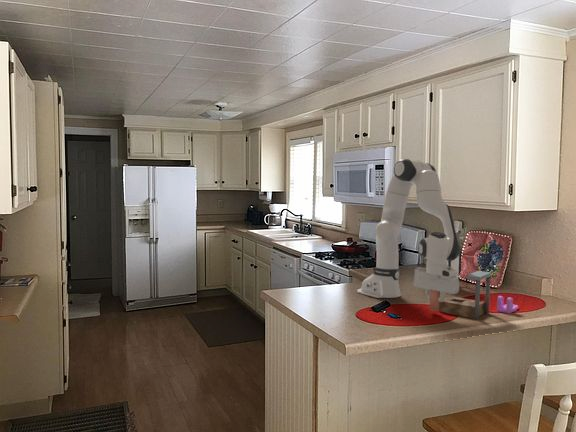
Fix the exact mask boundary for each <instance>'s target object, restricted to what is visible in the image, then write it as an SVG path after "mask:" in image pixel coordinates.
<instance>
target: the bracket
mask: <svg viewBox="0 0 576 432" xmlns="http://www.w3.org/2000/svg"><path fill="white" fill-rule="evenodd" d="M504 299H505V298H504V296H503V295H498V296H497V300H496V312H500V313H505V314H512V313H513V312H516V311H517V309H519V305H517V304H514V299H513V297H510V296H509V297H507V298H506V304H504Z"/></svg>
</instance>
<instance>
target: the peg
mask: <svg viewBox="0 0 576 432" xmlns="http://www.w3.org/2000/svg"><path fill="white" fill-rule="evenodd" d="M429 293H430V300H429V310H430V311H432V312H439V301H438V298H439V297H441V296H440V295H441V292H439V291H435V290H430V292H429Z"/></svg>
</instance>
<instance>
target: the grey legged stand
mask: <svg viewBox="0 0 576 432" xmlns="http://www.w3.org/2000/svg"><path fill="white" fill-rule="evenodd" d="M491 277H492V272H489V271H481V270H477V271H474V272H470V273H468V274H466V275H465V279H466V280H474V281H475V297H474V300H475V316H474V318H473V319H475V320H480V316H479V304H480V300H481V299H480V298H481V281H482V280H485V295H484V297H485V298H484V302H485V313H484V314H485V315H489V314H490V298H491V294H490V293H491Z"/></svg>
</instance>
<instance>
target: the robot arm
mask: <svg viewBox="0 0 576 432" xmlns="http://www.w3.org/2000/svg"><path fill="white" fill-rule="evenodd" d="M413 185H415V186H416V188H415V190H416V193H415V194H416V203H417V206H418V207H419V208H420V209H421V210H422V211H424V212H425V213H427V214H430V215H433V216H435V217H436V218H438V219H440V221H441V223H442V227H443V230H444V231H443V232H440V231H438V232H437V231H436V232H435V231H434V232H430V233H429V235H428V236H427V237H425V238H424V237H423V238H422V239H421V240H420V241H419V242H418V246H417V247H418V248H417V249H418V251H417V252H418V255H419V256H420V257H422V258H423V259H425V260H426V263H425V264H426V265H425V266H426V267H421V266H418V267H416V268H415V269H414V276H413V277H414V278H413V283H412V284H413V286H414V287H415V288H419V289H422V290H424V292H425V295H426V299H427V300H428V301H430V293H431V290H435V291H439V292H440V295H441V296H440V297H439V298H438V301H439V302H443V299H445V298H444V297H445V296H446V295H447V294H451V295H457V294H459V291H460V288H459V287H460V286H459V285H460V280H459V279H460V278H459V279H458V277H457V275H458V271H456V270H454V269H452V268H450V267H449V266H447V260H452V261H453V260H455V259H456V258H457V257H458V256H459V255H460V251H461V243H460V241H459V239H458V236H457V231H456V228H455V225H454V224H455V223H454V219H453V215H452V212H451V208H450V206H449V205H448V204H447V203H445V201H444V199H443V196H442V191H441V189H442V188H441V183H440V178H439V175H438V173H437V170H436V168H435V167H434V165H431V164H430V163H427V162H424V161H420V160H413V159H409V158H402V159H401V158H400V159H398V160H397V161H396V163H395V164H394V167H393V174H392V175H391V178H390V180H389V183H388V186H387V189H386V193H385V197H384V201H383V205H382V213H381V220H380V222H378V223H377V225H376V226H375V231H374V232H375V249H376V266H375V267H373V268H371V272H372V274H371V275H369V276H368V277H366V278H365V279H364V280H363V281H362V283H361V287H360V288H358V289H357V291H356V293H357V294H362V295H365V296H368V297H373V298H376V299H382V298H384V299H385V298H387V299H389V298H390V299H392V298H393V299H394V298H399V297H401V296H402V294H401V290H400V284H399V278H400V268H399V259H400V258H399V256H400V255H399V241H398V240H399V238H398V237H399V236H400V235H401V231H402V227H403V222H404V217H405V212H406V207H407V203H408V200H409V195H410V191H411V188H412V186H413ZM459 243H460V244H459Z"/></svg>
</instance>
